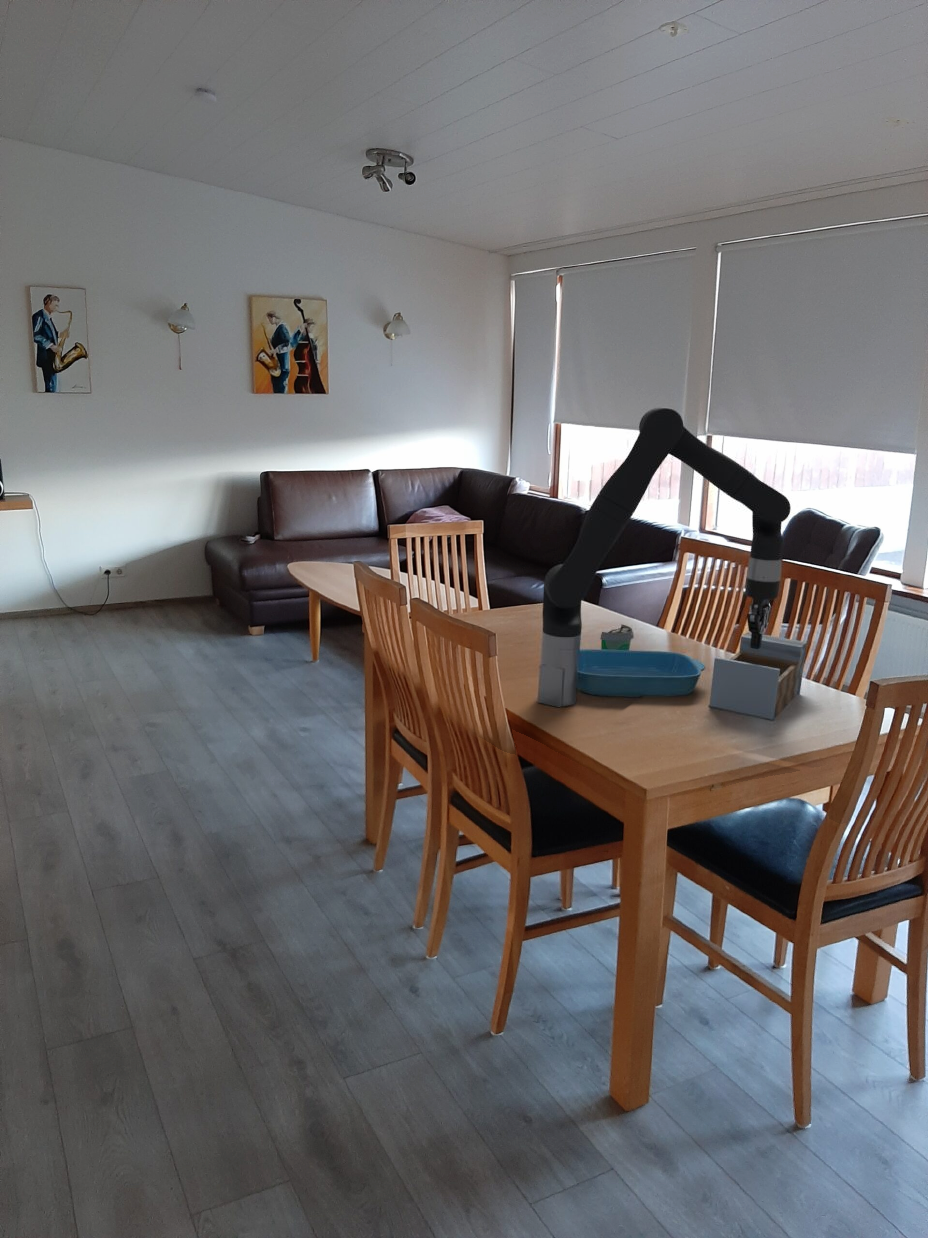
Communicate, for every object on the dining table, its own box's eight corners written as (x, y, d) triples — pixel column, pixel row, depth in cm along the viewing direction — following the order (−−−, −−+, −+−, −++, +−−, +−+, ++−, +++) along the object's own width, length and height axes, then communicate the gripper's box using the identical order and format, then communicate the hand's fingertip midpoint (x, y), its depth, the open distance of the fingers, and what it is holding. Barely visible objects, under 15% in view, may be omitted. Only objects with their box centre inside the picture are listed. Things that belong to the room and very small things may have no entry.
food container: (618, 672, 255) (621, 636, 252) (598, 667, 258) (600, 632, 256) (639, 662, 264) (642, 628, 262) (619, 657, 268) (622, 623, 265)
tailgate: (773, 722, 219) (780, 670, 216) (707, 708, 227) (713, 657, 224) (774, 721, 220) (781, 669, 217) (709, 707, 228) (715, 656, 225)
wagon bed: (773, 723, 221) (780, 665, 217) (710, 709, 228) (716, 653, 225) (799, 694, 242) (806, 642, 239) (741, 682, 250) (747, 631, 246)
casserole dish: (564, 699, 232) (566, 671, 230) (554, 671, 253) (556, 646, 251) (713, 704, 233) (716, 676, 231) (690, 676, 254) (693, 651, 252)
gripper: (772, 583, 213) (763, 657, 217) (786, 574, 224) (778, 644, 228) (739, 579, 217) (731, 651, 221) (755, 570, 228) (747, 639, 232)
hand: (755, 647), depth 225 cm, fingers closed
